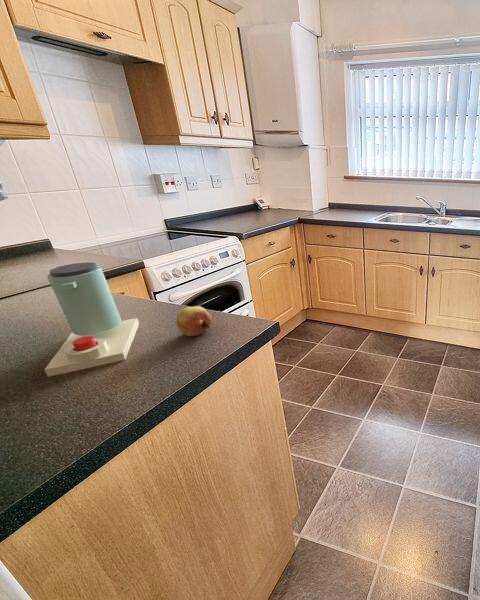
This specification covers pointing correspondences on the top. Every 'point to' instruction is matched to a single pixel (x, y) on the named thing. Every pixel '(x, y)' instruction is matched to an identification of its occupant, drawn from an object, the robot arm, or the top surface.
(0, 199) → the robot arm
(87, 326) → the kettle
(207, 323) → the fruit
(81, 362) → the kettle base
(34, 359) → the top surface
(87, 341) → the switch
